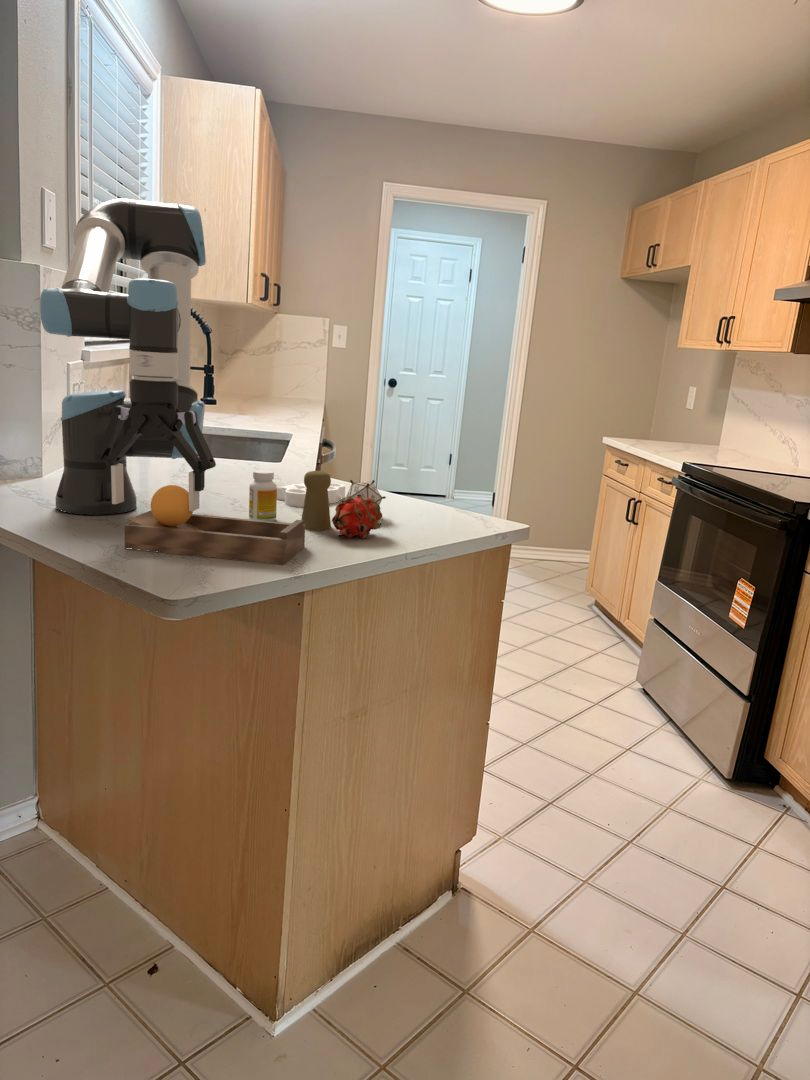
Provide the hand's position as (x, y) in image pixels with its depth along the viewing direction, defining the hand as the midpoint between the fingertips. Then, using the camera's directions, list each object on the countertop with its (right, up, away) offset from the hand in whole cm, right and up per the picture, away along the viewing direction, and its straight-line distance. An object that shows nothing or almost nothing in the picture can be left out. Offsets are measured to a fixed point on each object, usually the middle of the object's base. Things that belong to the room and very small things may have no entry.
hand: (155, 506), depth 131 cm
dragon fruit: (+33, -5, +14) cm, 36 cm away
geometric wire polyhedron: (+33, -1, +31) cm, 45 cm away
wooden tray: (+11, -7, 0) cm, 13 cm away
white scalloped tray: (+21, +3, +47) cm, 52 cm away
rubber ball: (+3, 0, 0) cm, 3 cm away
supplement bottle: (+14, -2, +24) cm, 27 cm away
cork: (+25, -3, +20) cm, 32 cm away
